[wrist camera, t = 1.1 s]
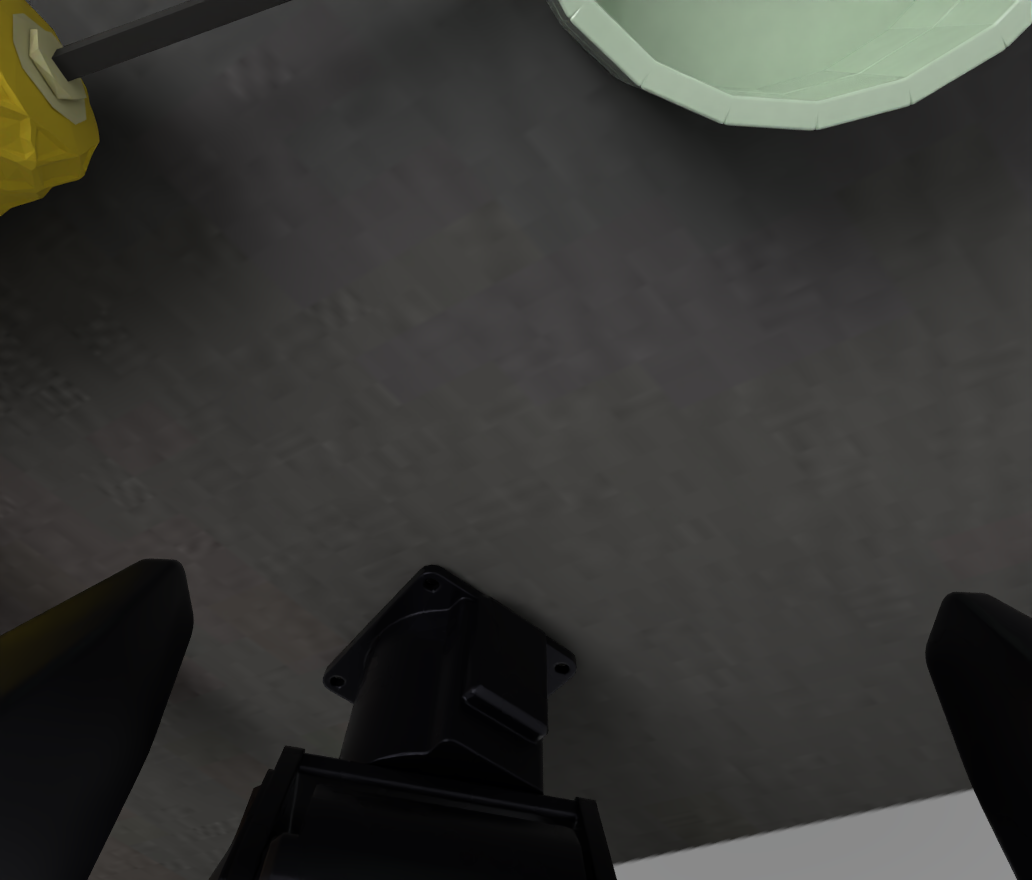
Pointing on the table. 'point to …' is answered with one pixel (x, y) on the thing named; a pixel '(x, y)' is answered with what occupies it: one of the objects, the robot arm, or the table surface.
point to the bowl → (792, 52)
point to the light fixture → (74, 86)
